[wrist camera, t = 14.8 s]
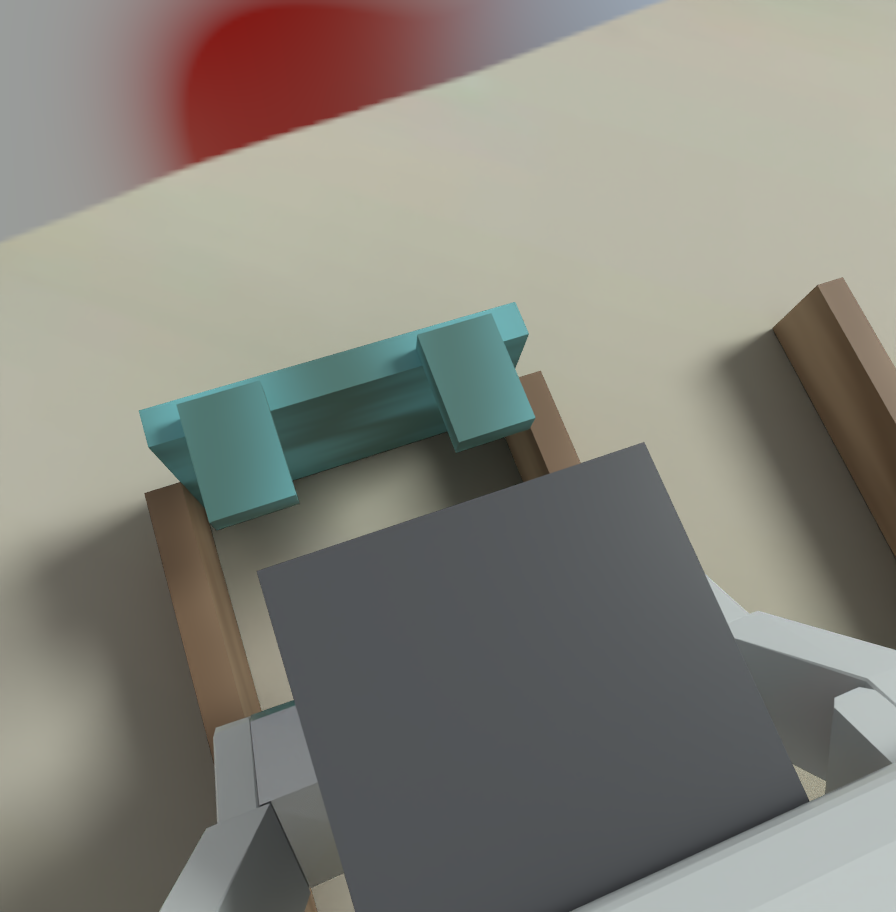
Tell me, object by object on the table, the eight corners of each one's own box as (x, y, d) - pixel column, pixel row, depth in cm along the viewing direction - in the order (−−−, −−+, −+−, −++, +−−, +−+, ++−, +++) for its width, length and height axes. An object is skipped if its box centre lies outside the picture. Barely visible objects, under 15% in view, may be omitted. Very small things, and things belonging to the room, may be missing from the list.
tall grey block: (508, 575, 17) (643, 442, 8) (584, 772, 16) (832, 852, 7) (319, 642, 16) (256, 570, 7) (385, 856, 15) (398, 1060, 6)
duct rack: (783, 298, 28) (903, 177, 21) (1052, 788, 23) (1311, 822, 17) (165, 489, 24) (84, 410, 17) (337, 1136, 19) (313, 1361, 12)
